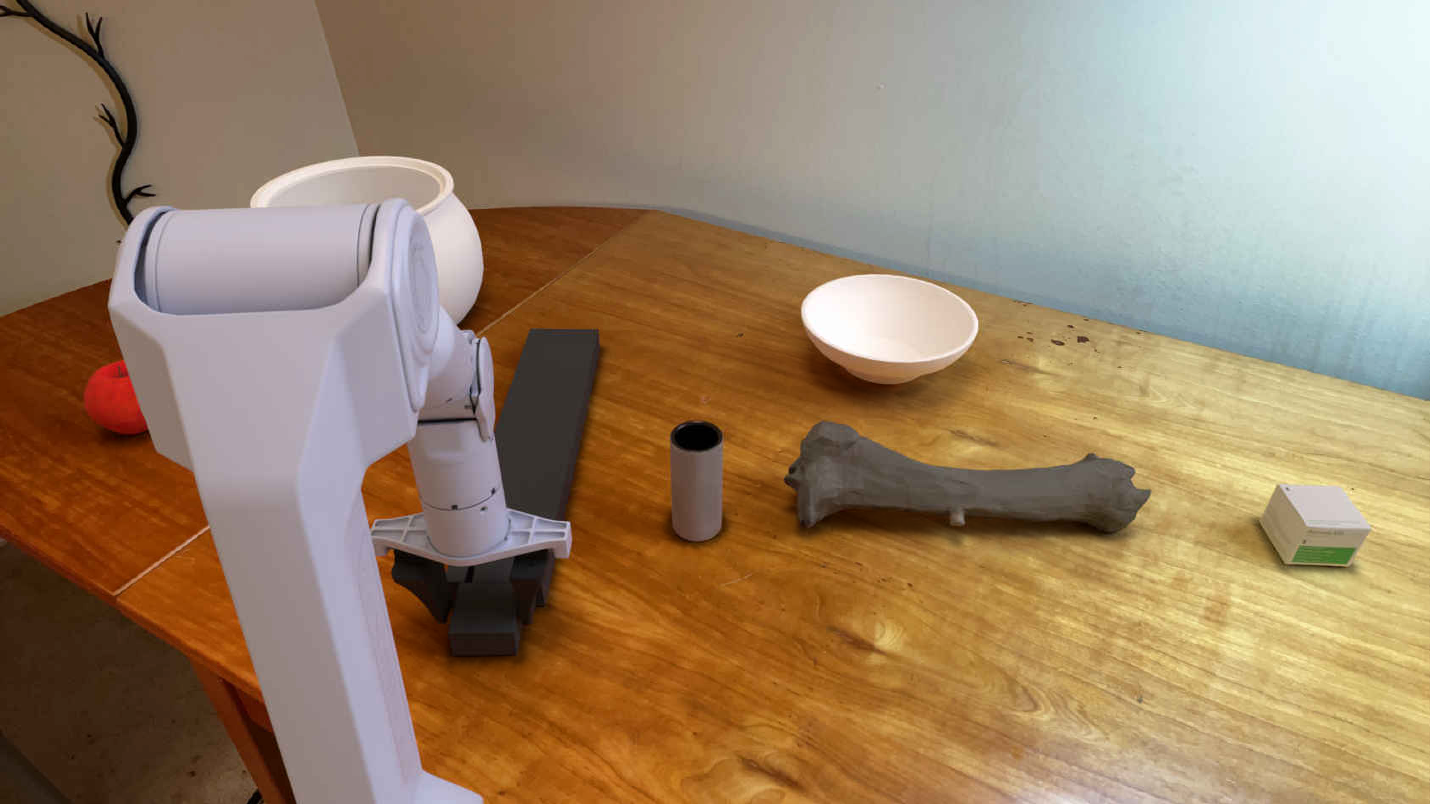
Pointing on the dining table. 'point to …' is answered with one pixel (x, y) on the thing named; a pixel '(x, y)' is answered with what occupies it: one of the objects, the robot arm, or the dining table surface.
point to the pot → (396, 179)
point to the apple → (114, 400)
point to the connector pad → (486, 613)
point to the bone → (955, 485)
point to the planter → (696, 479)
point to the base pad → (542, 430)
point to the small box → (1314, 525)
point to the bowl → (888, 326)
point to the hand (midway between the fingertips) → (486, 614)
